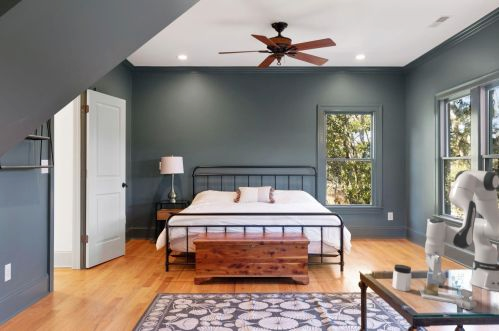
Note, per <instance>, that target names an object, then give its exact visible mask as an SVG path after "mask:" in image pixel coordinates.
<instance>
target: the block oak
mask: <svg viewBox="0 0 499 331" xmlns="http://www.w3.org/2000/svg"><path fill="white" fill-rule="evenodd" d="M423 287H424V288H423V289H424V291H425V293H426V294H429V295H436V296H438V292H439V288H440V286H439V285H438V284H437V285H436V284H430V283H427V279H426V280H424V286H423Z"/></svg>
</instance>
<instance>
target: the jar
mask: <svg viewBox="0 0 499 331" xmlns="http://www.w3.org/2000/svg"><path fill="white" fill-rule="evenodd" d="M393 267H394V268H393V273H392V286H391V287H392V288H394V289H395V290H396V291H400V292H409V291H410V292H411V285H412V267H410V266H408V265H405V264H395V265H394V266H393Z"/></svg>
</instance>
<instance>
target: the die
mask: <svg viewBox="0 0 499 331" xmlns="http://www.w3.org/2000/svg"><path fill="white" fill-rule="evenodd" d="M447 280H448V278H447V277H446V276H445V275H444V273H443V272H442V271H441V273H438V280H437V284H438V285H439V288H443V287H444V286H445V283H446V282H447Z"/></svg>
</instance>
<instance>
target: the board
mask: <svg viewBox="0 0 499 331" xmlns="http://www.w3.org/2000/svg"><path fill="white" fill-rule="evenodd" d="M418 292H419V294H420V296H421V297H422V299H426V300H432V301H439V302H445V303H452V304H456V300H457V299H460V298H463V297H462V296H463V295H461V294H456V293H455V294H453V293H448V292H444V291H443V292H441V291H438V296H436V295H429V294H426V293H425V291H424V288H418Z"/></svg>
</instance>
